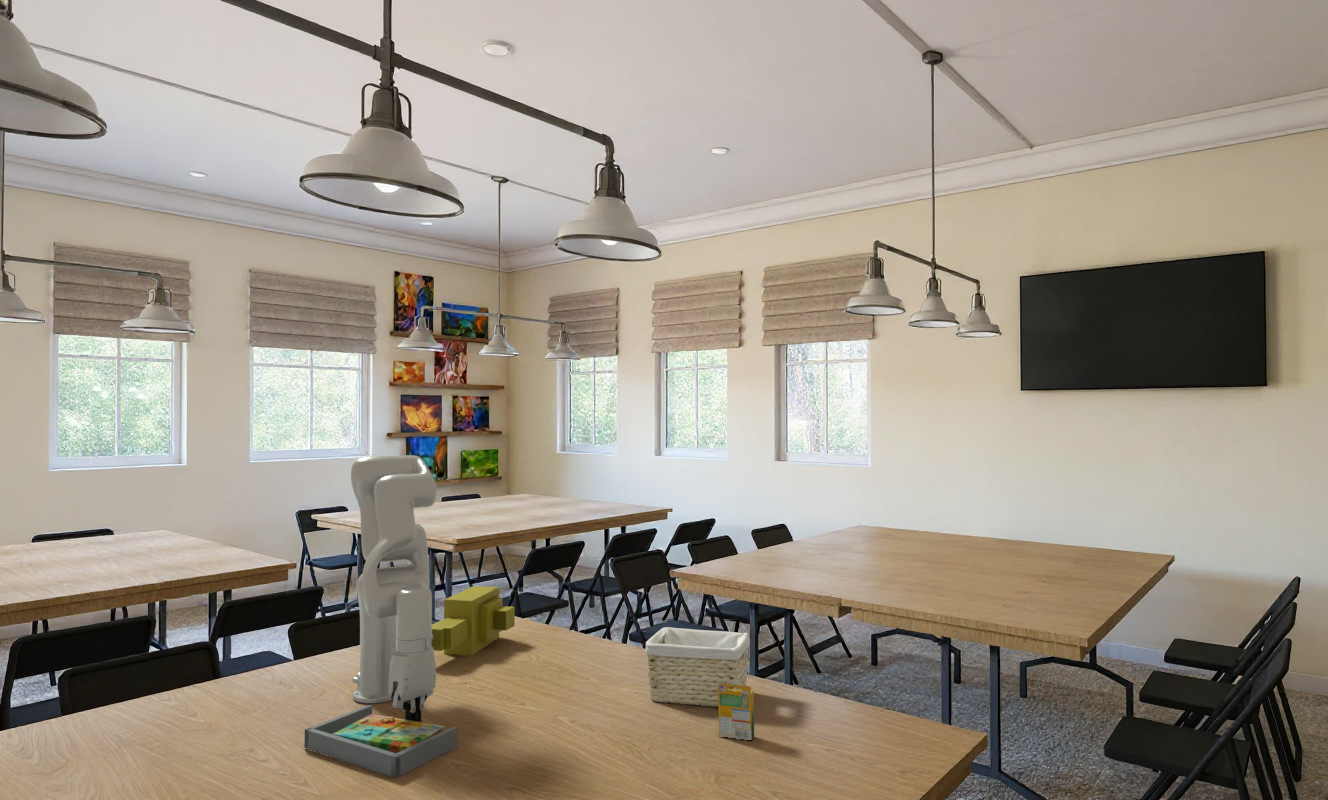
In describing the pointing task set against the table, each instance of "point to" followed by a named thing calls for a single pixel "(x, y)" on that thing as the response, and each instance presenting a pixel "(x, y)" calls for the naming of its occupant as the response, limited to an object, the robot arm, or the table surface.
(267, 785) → the table surface
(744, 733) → the crayon box
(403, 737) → the puzzle game
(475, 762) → the table surface
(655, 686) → the storage basket
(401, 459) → the robot arm
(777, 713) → the table surface
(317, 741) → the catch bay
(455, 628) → the toy blocks
